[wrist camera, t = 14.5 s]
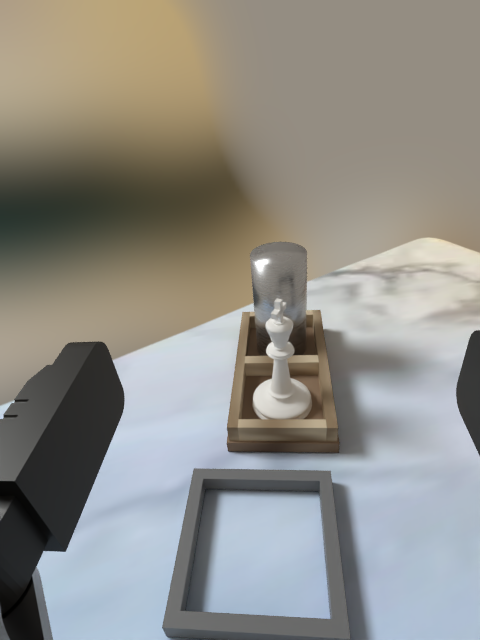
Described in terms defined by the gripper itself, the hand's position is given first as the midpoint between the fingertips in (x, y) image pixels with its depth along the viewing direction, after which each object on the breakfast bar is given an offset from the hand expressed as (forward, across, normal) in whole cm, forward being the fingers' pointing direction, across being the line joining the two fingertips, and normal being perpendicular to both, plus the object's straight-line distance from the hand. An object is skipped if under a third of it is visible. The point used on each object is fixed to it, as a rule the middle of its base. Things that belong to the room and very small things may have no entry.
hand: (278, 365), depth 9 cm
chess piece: (+17, +1, +19) cm, 26 cm away
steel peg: (+24, +1, +19) cm, 31 cm away
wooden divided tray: (+21, +1, +20) cm, 29 cm away
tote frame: (+5, +2, +20) cm, 21 cm away
